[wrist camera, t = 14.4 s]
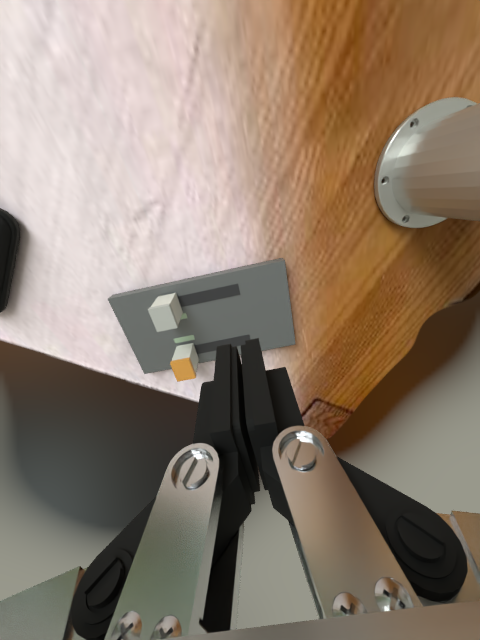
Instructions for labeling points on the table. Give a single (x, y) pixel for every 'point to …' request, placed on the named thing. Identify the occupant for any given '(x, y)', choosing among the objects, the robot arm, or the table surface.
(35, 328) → the table surface
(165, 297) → the breaker
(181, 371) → the block
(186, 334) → the grey slotted panel
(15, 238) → the carrying case or bag
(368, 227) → the table surface
